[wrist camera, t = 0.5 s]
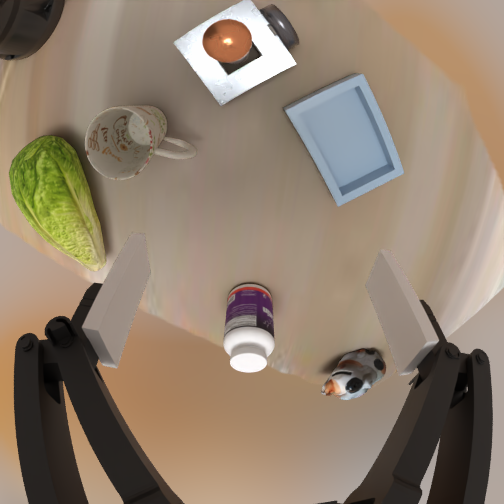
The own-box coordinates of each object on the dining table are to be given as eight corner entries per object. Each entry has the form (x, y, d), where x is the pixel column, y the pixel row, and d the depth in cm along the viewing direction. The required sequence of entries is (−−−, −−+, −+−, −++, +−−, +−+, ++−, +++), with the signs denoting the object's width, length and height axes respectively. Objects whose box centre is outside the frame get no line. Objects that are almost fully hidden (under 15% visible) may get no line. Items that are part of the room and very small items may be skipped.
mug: (127, 92, 31) (90, 101, 23) (213, 112, 33) (200, 126, 25) (115, 147, 35) (81, 171, 27) (196, 168, 38) (179, 198, 30)
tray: (282, 107, 33) (285, 110, 30) (354, 73, 30) (362, 73, 27) (332, 197, 40) (338, 206, 38) (395, 166, 37) (404, 173, 34)
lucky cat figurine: (341, 380, 71) (326, 417, 60) (325, 350, 70) (308, 388, 59) (391, 371, 63) (383, 412, 52) (378, 338, 61) (369, 380, 50)
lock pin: (214, 49, 28) (193, 35, 17) (241, 33, 27) (234, 11, 16) (231, 72, 30) (219, 70, 19) (258, 57, 29) (261, 46, 18)
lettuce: (65, 280, 44) (87, 306, 37) (-2, 167, 29) (-2, 163, 22) (109, 240, 50) (141, 256, 43) (54, 129, 35) (74, 115, 28)
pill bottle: (274, 309, 54) (278, 374, 42) (232, 314, 55) (228, 378, 43) (269, 278, 49) (273, 346, 38) (223, 283, 50) (215, 350, 38)
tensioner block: (181, 45, 28) (167, 40, 22) (262, -1, 24) (264, -16, 19) (224, 103, 33) (218, 108, 27) (304, 59, 29) (315, 55, 24)
